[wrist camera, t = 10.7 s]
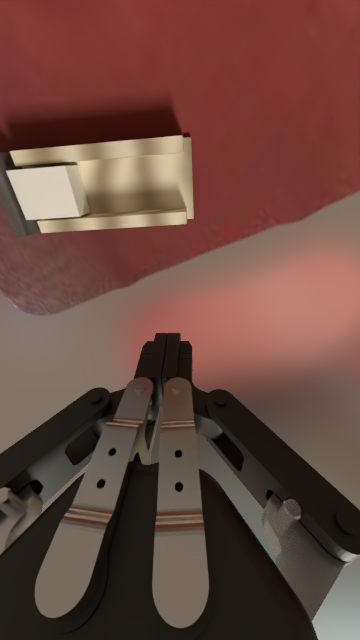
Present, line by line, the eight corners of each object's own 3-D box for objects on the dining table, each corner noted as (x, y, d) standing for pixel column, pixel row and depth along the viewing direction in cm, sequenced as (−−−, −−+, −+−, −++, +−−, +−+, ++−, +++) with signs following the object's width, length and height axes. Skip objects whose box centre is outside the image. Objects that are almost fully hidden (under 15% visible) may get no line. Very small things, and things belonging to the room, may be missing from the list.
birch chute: (191, 137, 31) (190, 133, 26) (193, 217, 36) (193, 225, 32) (8, 154, 33) (-22, 152, 28) (37, 227, 38) (16, 236, 34)
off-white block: (77, 165, 33) (64, 165, 29) (90, 211, 36) (79, 216, 33) (24, 169, 33) (5, 170, 30) (41, 214, 37) (26, 220, 33)
